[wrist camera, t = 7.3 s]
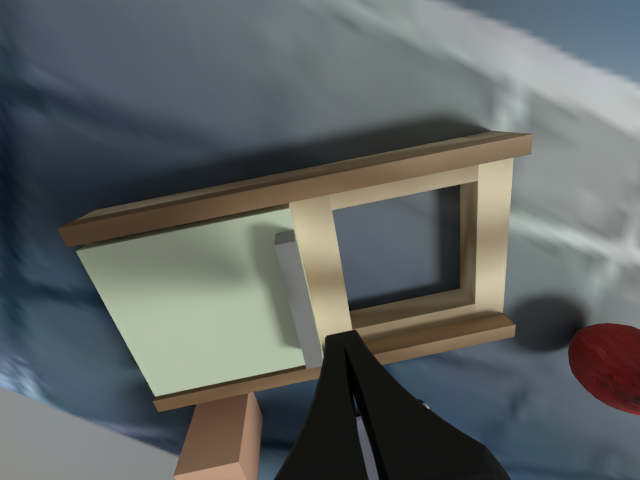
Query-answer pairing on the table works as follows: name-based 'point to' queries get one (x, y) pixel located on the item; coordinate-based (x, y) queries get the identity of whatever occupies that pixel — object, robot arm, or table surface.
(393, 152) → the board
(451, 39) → the table surface
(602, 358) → the onion
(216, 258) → the lid
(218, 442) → the block
